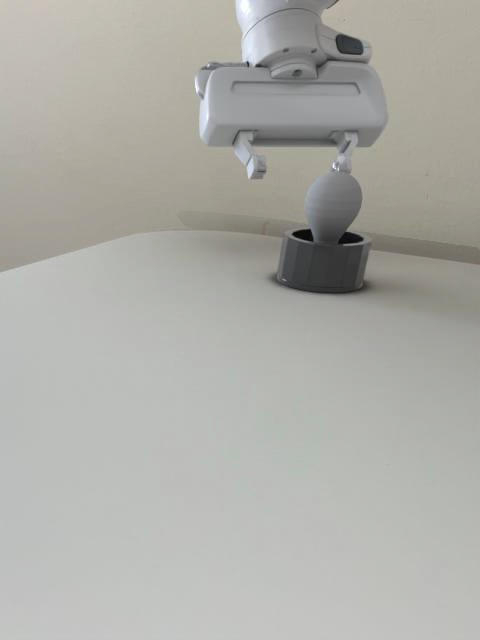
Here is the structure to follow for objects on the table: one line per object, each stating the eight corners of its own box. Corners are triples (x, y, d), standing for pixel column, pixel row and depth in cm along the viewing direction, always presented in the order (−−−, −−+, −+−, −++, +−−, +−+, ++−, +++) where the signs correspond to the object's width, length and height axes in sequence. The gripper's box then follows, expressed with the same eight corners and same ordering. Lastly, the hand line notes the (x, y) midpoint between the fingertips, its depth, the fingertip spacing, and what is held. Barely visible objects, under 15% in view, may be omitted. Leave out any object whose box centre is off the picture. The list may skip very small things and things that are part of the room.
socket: (346, 271, 107) (355, 227, 105) (374, 293, 100) (384, 246, 97) (267, 271, 107) (274, 226, 104) (289, 292, 100) (298, 245, 97)
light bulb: (281, 272, 104) (299, 168, 99) (324, 268, 106) (343, 165, 101) (313, 285, 100) (333, 177, 95) (357, 280, 102) (379, 174, 96)
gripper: (201, 40, 105) (214, 156, 102) (385, 42, 107) (403, 156, 104) (185, 84, 111) (197, 194, 109) (359, 86, 113) (376, 194, 111)
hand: (300, 176), depth 107 cm, fingers open, 8 cm apart
